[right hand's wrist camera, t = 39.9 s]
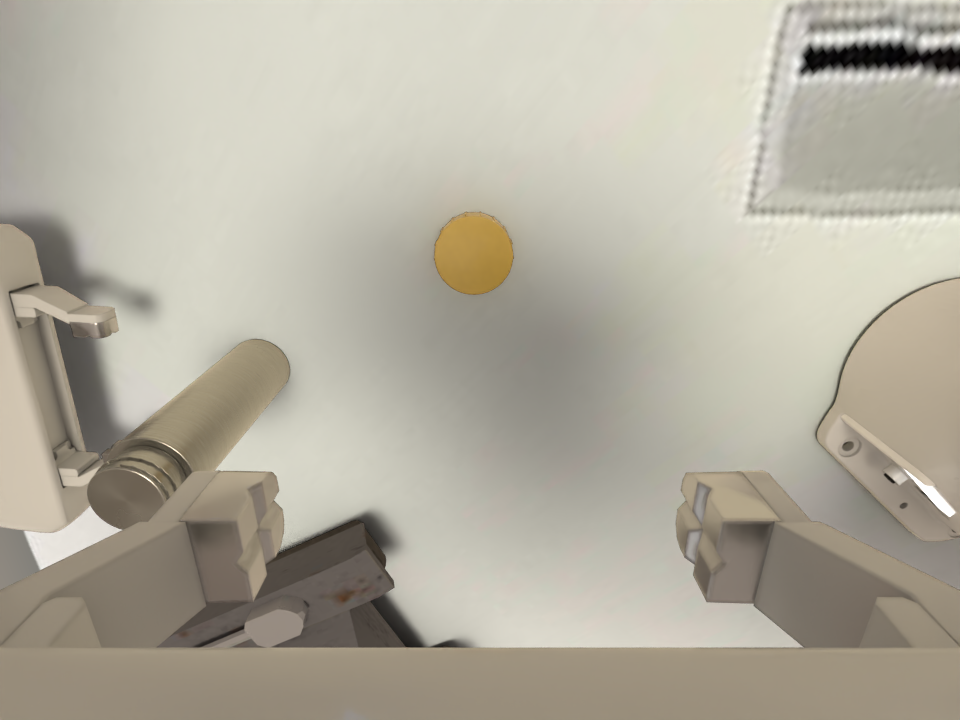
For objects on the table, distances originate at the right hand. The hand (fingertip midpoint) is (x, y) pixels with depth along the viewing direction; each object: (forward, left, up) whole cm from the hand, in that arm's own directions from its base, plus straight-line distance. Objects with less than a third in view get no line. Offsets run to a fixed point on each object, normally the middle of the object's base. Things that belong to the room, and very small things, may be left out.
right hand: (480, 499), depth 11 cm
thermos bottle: (+3, +18, -27) cm, 33 cm away
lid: (0, 0, -25) cm, 25 cm away
